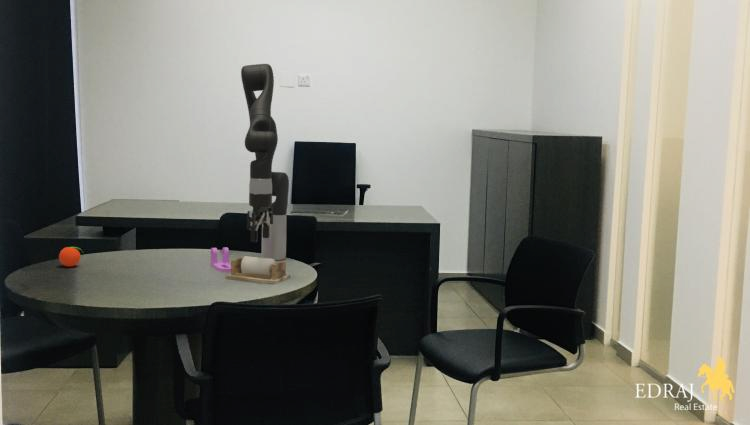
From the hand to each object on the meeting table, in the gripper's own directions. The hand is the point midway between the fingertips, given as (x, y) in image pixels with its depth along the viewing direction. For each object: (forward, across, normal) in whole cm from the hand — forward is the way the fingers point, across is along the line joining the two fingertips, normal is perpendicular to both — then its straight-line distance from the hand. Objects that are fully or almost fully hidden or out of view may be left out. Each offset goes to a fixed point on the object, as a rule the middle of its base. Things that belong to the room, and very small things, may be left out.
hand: (260, 239), depth 255 cm
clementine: (+13, +14, -65) cm, 68 cm away
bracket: (+14, -8, -18) cm, 24 cm away
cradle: (+13, 0, 0) cm, 13 cm away
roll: (+12, 0, 0) cm, 12 cm away
